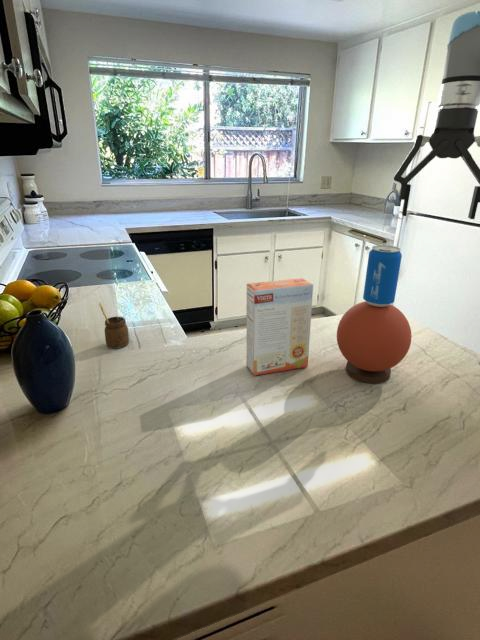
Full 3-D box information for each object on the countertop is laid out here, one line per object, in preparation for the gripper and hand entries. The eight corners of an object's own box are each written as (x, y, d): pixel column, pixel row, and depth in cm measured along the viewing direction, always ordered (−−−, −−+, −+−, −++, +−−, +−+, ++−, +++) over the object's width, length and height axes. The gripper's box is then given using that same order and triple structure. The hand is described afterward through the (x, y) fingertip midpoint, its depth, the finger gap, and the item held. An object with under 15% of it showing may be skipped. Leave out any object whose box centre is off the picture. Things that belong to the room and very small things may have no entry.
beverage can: (358, 303, 87) (365, 249, 82) (368, 295, 92) (375, 243, 87) (388, 310, 83) (397, 253, 79) (397, 301, 88) (406, 247, 84)
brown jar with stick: (129, 347, 105) (124, 304, 101) (104, 350, 104) (98, 306, 99) (129, 338, 111) (125, 297, 106) (105, 340, 109) (100, 299, 105)
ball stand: (402, 362, 99) (414, 295, 92) (405, 396, 85) (420, 320, 78) (336, 352, 104) (343, 288, 97) (329, 383, 90) (337, 310, 83)
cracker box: (297, 356, 101) (303, 276, 93) (308, 368, 96) (315, 284, 88) (244, 364, 97) (245, 281, 89) (253, 376, 92) (255, 290, 84)
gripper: (392, 108, 81) (377, 215, 89) (536, 104, 74) (505, 222, 82) (391, 111, 87) (377, 211, 95) (523, 108, 80) (496, 217, 88)
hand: (436, 216), depth 89 cm, fingers open, 13 cm apart
